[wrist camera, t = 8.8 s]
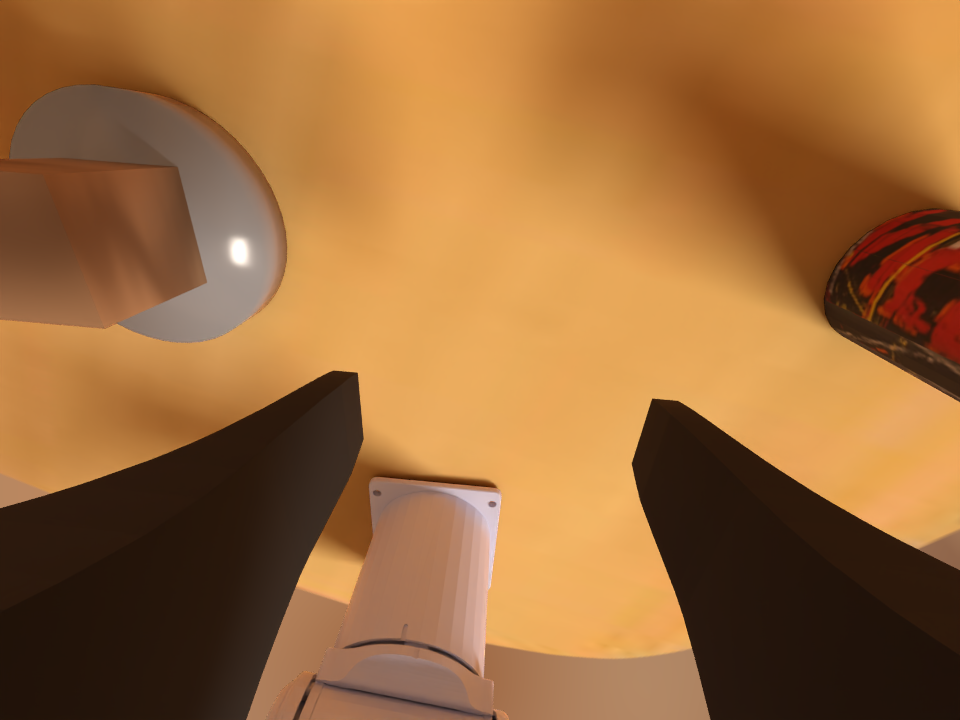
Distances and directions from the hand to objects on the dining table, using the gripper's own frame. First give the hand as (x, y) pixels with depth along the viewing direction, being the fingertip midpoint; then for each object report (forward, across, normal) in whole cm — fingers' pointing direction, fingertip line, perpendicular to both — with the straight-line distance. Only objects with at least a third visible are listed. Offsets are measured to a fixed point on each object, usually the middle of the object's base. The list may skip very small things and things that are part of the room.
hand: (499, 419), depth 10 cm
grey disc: (+10, +15, -2) cm, 18 cm away
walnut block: (+8, +15, -2) cm, 17 cm away
